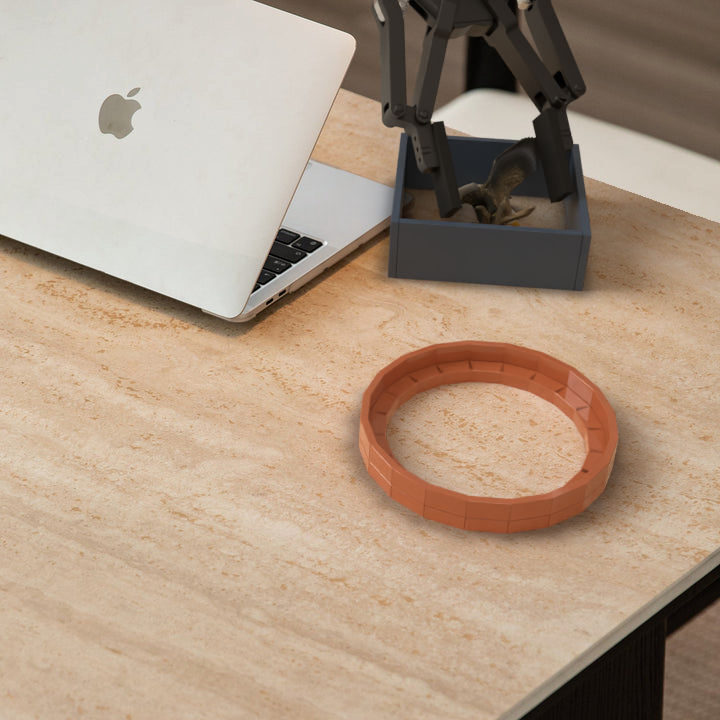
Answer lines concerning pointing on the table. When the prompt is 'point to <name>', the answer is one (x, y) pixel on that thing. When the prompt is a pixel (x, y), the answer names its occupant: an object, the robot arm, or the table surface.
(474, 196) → the eagle figurine
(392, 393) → the faceted orange ring
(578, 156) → the bin
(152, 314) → the table surface
